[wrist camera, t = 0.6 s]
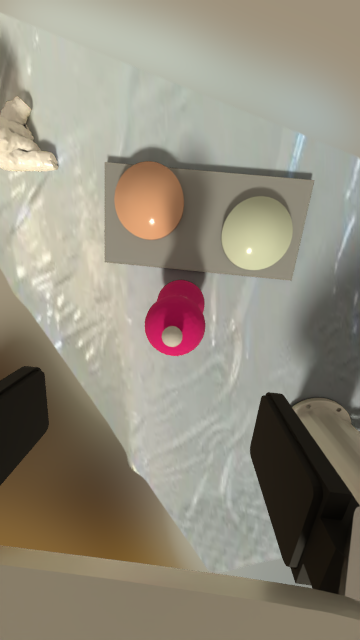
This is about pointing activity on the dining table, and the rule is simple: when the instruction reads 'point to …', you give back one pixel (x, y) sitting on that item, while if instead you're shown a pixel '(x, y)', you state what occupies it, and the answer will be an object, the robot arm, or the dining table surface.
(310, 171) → the dining table surface
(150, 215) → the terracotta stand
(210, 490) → the dining table surface
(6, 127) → the sitting furry creature
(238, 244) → the pale green domed disc
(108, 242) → the board
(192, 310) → the pepper mill
